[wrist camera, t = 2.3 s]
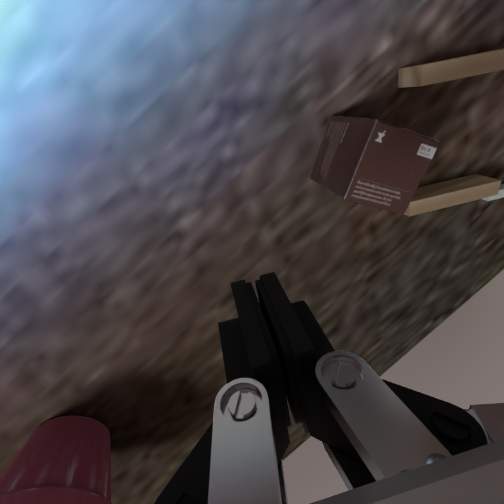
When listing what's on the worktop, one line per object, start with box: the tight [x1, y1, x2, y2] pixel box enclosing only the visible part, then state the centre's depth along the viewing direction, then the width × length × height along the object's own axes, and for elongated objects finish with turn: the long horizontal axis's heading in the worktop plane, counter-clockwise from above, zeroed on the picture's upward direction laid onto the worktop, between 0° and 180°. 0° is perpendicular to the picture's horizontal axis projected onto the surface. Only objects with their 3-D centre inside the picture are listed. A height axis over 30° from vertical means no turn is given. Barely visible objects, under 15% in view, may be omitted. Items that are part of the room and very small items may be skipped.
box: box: [310, 115, 439, 214], centre depth 26 cm, size 6×6×7 cm
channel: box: [398, 48, 504, 216], centre depth 29 cm, size 13×10×3 cm
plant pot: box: [0, 416, 112, 504], centre depth 33 cm, size 14×14×13 cm
